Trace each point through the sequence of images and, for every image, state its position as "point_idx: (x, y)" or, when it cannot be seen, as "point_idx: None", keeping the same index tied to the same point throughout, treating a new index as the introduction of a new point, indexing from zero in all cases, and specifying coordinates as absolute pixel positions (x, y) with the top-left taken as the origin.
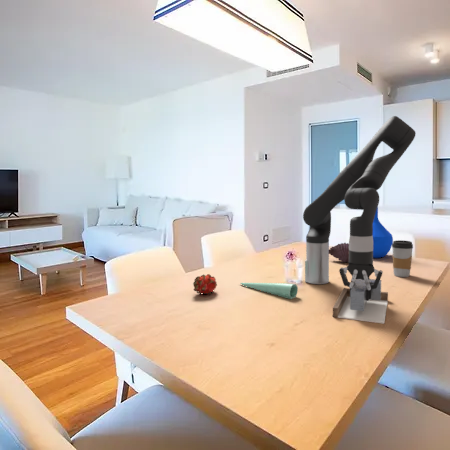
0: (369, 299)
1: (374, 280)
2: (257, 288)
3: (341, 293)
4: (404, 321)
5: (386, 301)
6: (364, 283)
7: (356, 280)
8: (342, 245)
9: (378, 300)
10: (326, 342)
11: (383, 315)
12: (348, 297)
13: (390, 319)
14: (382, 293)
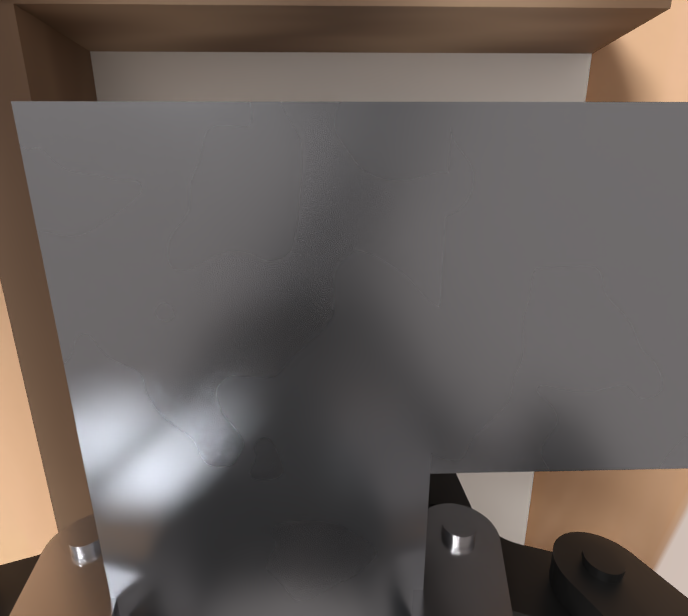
0: (377, 85)
1: (630, 243)
2: None
3: (10, 271)
4: (653, 540)
5: (575, 92)
6: (358, 609)
7: (104, 428)
8: None
9: (484, 85)
10: None
11: (514, 516)
12: (117, 96)
13: (557, 538)
14: (586, 9)
